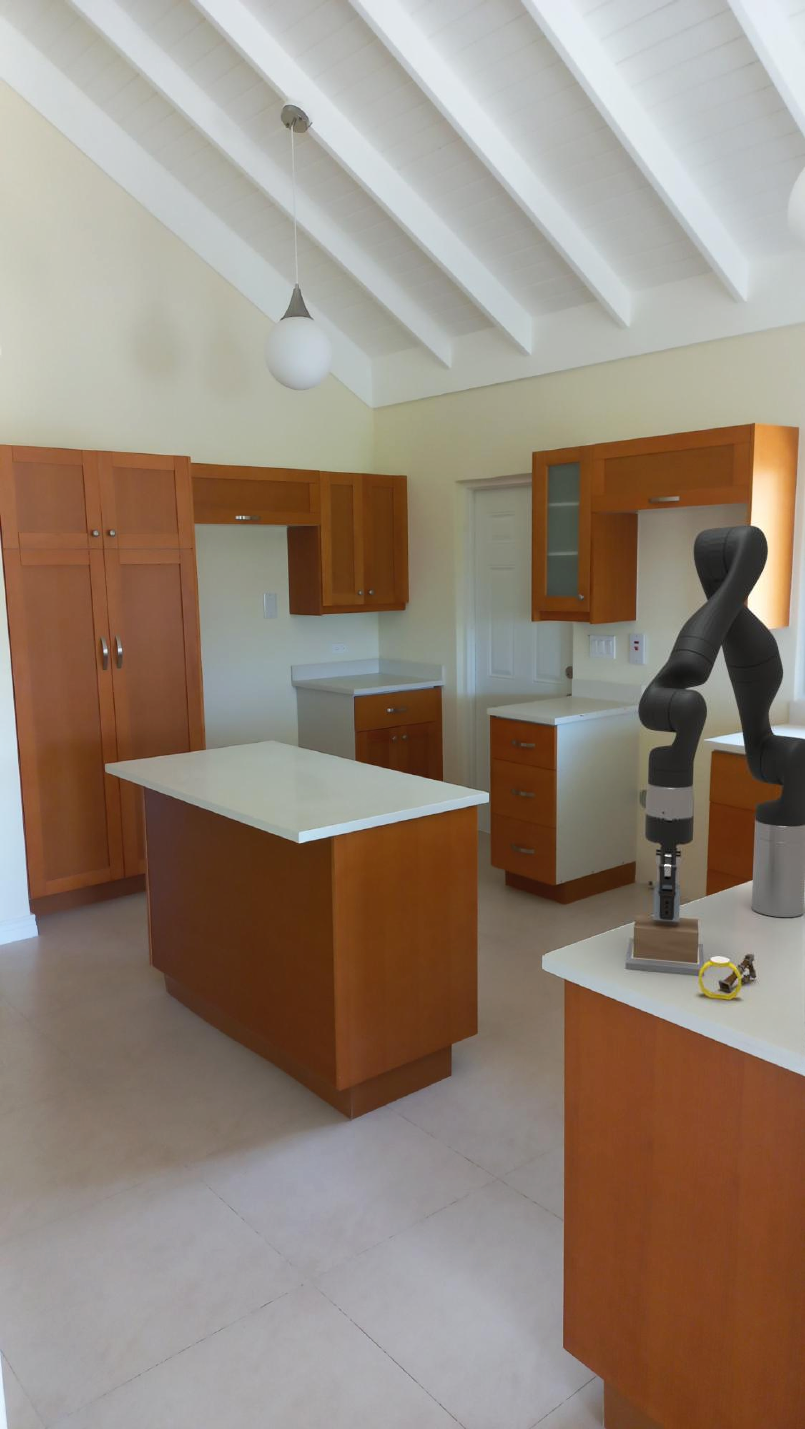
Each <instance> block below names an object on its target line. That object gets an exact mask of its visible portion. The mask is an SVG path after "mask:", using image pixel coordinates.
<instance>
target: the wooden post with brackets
mask: <svg viewBox="0 0 805 1429" xmlns="http://www.w3.org/2000/svg"><path fill="white" fill-rule="evenodd" d="M754 961H755V954H754V953H747V954H746V955H744V958H743V961H741V963H740V964H738V965H737V966H735V967H736V968H737V969H738V971H739V973H740V975H741V976H742V975H743V976H742V977H741V986H744V985H745V984H746V985H748V983H750V982H751V979H756V978H757V973H756V969H755V967H754V963H753V962H754ZM746 969H748V973H747V974H744V973H745V972H746ZM737 980H738V977H737V975H736V974H735V972H734V971H733V970H732V973H731V974H729V976H728V977H726V978H725V979H723V980H722V979H719V980H718V981H717V982H718V986H719V990H723V991H726V992H728V993H732V992H733V991H732V987H733V986H734V984H735V982H736V981H737Z"/></svg>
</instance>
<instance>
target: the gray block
mask: <svg viewBox="0 0 805 1429" xmlns="http://www.w3.org/2000/svg"><path fill="white" fill-rule="evenodd" d="M653 889H654V890H653V916H654V920H662V919H660V897H659V894H658V891H659V882H654V888H653ZM663 889H672V886H671V885H663ZM675 892H676V896H675V898H674V918H673V920H664V921H676V922H679V918H680V907H681V906H680V903H681V902H680V899H681V884H678V883H676V884H675Z"/></svg>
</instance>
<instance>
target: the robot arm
mask: <svg viewBox="0 0 805 1429" xmlns="http://www.w3.org/2000/svg"><path fill="white" fill-rule="evenodd" d="M768 554H769V546H768V541H767V537H766V535H765V533H764V532H763V531H762V529H760V527H758V526H755V525H736V526H727V527H725V526H724V527H715V528H708V529H704V530H702V531H701V532H699V533H698V534H697V536H696V538H695V540H694V545H693V561H694V565H695V566H694V567H695V569H696V573H697V576H698V579H699V581H700V585H701V587H702V590H703V593H704V595H705V597H706V602H705V603H704V604H702V606H700V607H699V608H698V609H697V610H696V611H695V612H694V613H693V614H692V615H691V617H689V618H688V620H687V621H685V623H684V624H683V626H682V627H681V629H680V631H679V633H678V635H677V637H676V639H675V642H674V645H673V647H672V648H671V652H670V654H669V656H668V660H667V661H666V663H665V664H664V665H663V667H661V669H660V670H659V671H658V673H657V674H656V675H655V676H654V678H653V679H652V680H651V681H650V682H649V684H648V685H647V686H646V687H645V689H644V691H643V693H642V695H641V698H640V700H639V702H638V710H637V712H638V718H639V721H640V723H641V725H642V726H643V728H646V729H647V730H650V731H655V732H664V733H675V737H674V740H673V741H672V743H671V744H670V745H663V746H662V745H661V746H656V747H654V748H652V749H651V750H650V751H649V754H648V771H647V772H648V773H647V774H648V776H647V788H646V795H645V822H644V824H645V826H644V827H645V828H644V838H645V839H646V841H648V842H651V843H653V844H659V845H660V849H659V848H657V849H655V863H656V881H657V883H659V891H658V894H659V897H660V919H662V920H673V918H674V898H675V896H676V892H675V884H678V882H679V878H680V876H679V875H680V874H679V873H680V865H681V864H682V862H681V860H682V850H678V847H677V846H678V845H682V846H684V845H687V844H690V843H691V842H693V840H694V817H695V816H694V815H695V794H694V793H695V792H694V768H695V767H694V766H695V765H694V764H695V763H694V762H695V758H696V754H697V750H698V746H699V744H700V739H701V736H702V732H703V731H704V727H705V724H706V720H707V716H708V707H707V702H706V700H705V698H704V696H703V695H702V694H701V693H700V692H699V691H697V690H694V689H690V688H696V687H700V686H702V685H704V684H706V683H707V681H708V680H709V678H710V676H711V673H712V671H713V668H714V666H715V663H716V660H717V657H718V655H719V653H720V649H722V653H723V657H724V662H725V666H726V670H727V674H728V677H729V680H730V683H731V687H732V689H733V690H732V691H733V693H734V699H735V702H736V706H737V709H738V716H739V719H740V725H741V730H742V733H741V734H742V738H743V746H744V752H745V757H746V764H747V767H748V769H749V772H750V774H751V776H752V777H753V778H754V779H755V780H756V781H757V782H760V783H763V784H764V783H765V784H769V785H775V786H780V787H781V788H782V789H781V793H780V797H777V799H774V800H773V799H772V800H767V801H763V802H760V803H758V804H757V805H756V807H755V811H754V812H755V813H754V814H755V815H754V842H753V867H752V869H753V870H752V890H751V891H752V892H751V894H752V895H751V909H752V910H754V911H755V912H756V913H759V914H761V915H765V916H770V917H777V918H795V917H800V916H801V915H803V914H804V911H805V908H804V907H805V738H802V737H794V736H787V735H777V734H775V733H774V731H773V730H772V726H771V722H770V709H771V706H772V705H773V702H774V700H775V698H776V696H777V694H778V692H779V690H780V688H781V685H782V682H783V678H784V667H783V663H782V657H781V654H780V650H779V647H778V643H777V640H776V638H775V636H774V634H773V633H772V632H771V630H770V629H769V628H768V627H767V626H766V624H765V623H764V622H763V621H762V620H760V618H759V617H758V616H756V614H754V612H753V611H752V610H751V609H750V608H749V607H748V606H747V605H746V601H747V600H748V598H749V595H750V594H751V593H752V591H753V590H754V588H755V586H756V584H757V582H758V581H759V579H760V577H761V576H762V574H763V572H764V569H765V566H766V564H767V560H768ZM663 885H671V886H672V889H663Z"/></svg>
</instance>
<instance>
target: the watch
mask: <svg viewBox="0 0 805 1429" xmlns="http://www.w3.org/2000/svg"><path fill="white" fill-rule="evenodd" d="M712 966H713V967H718V968H726V967H728V968H729V969H731V970H732V971H734V972H735V974H736V975H737V977H738V978H737V980H738V983H737V986H736V987H735V989H734V990H733V991H732V992H729V993H728V994H724V993H714V992H710V991H709V990H708V989H707V988H706V987H705V985H704V983H703V979H702V978H703V976H702V974H703V973H704V974H705V971H706V970H707V969H708V968H711V967H712ZM741 978H742V975H740V973H739V971H738V969H737V968H736V966H735V964H733V963H731V960H730V959H729V958H728V957H725V956H717V955H716V956H712V957H711V958H710V959H709V961H707V962H705V963H704V965H703V967H702V968H701V969H700V972H699V976H698V984H699V988H700V990H701V991H702V993H703V994H704V995H705V996H706V997H707V998H709V999H719V1000H727V1001H730V1000H732V999H733V998H735V997H737V996H738V995H739V992H740V990H741V988H742V985H741Z"/></svg>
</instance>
